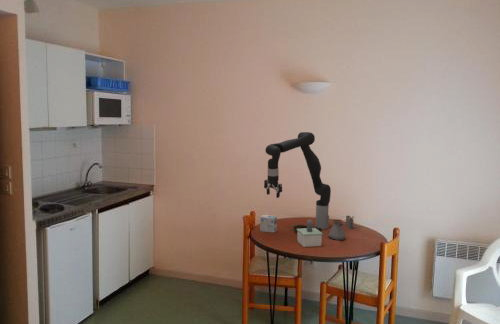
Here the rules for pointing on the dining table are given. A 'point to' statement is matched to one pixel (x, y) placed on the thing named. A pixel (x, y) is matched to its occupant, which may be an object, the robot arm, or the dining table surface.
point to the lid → (309, 230)
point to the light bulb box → (268, 223)
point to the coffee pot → (337, 230)
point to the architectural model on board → (349, 222)
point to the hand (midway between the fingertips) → (273, 195)
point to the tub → (309, 240)
